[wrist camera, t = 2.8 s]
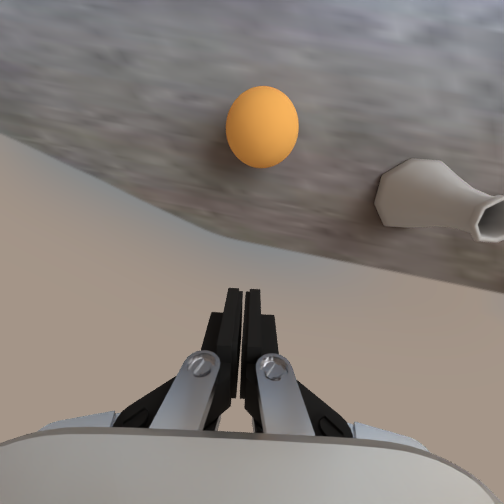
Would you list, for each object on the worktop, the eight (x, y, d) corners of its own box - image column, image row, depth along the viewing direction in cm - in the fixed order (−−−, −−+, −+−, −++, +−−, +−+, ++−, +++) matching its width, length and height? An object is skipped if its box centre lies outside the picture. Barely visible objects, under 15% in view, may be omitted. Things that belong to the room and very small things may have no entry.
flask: (374, 234, 26) (437, 280, 17) (370, 167, 23) (443, 177, 14) (444, 219, 25) (551, 258, 16) (449, 147, 22) (582, 144, 13)
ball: (297, 97, 21) (310, 77, 15) (289, 167, 23) (298, 172, 18) (230, 94, 21) (220, 73, 16) (230, 164, 23) (220, 168, 18)
